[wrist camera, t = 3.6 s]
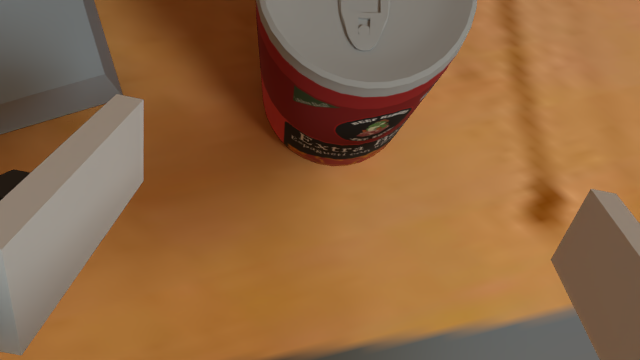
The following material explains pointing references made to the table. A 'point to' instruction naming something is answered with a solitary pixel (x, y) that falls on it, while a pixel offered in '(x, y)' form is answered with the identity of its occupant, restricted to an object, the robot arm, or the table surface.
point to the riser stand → (52, 61)
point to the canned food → (352, 69)
